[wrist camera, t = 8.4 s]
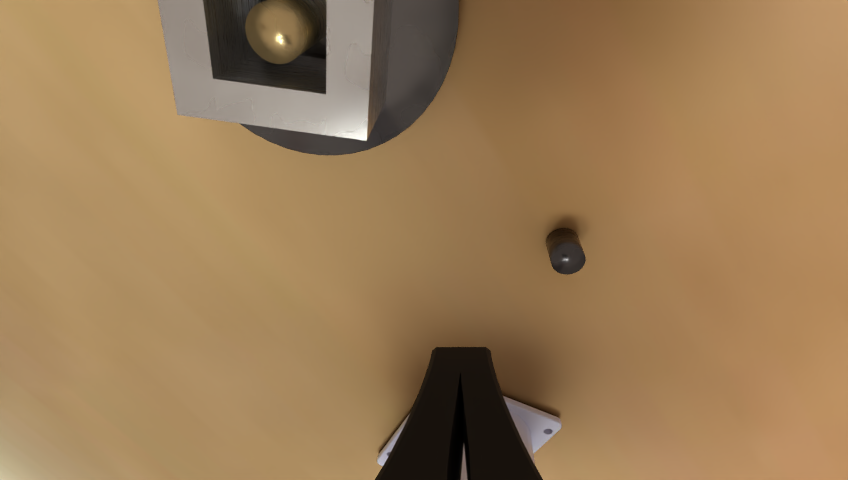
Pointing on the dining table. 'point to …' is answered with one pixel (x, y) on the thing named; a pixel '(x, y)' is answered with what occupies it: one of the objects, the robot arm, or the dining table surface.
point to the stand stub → (565, 251)
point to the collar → (279, 68)
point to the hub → (407, 67)
